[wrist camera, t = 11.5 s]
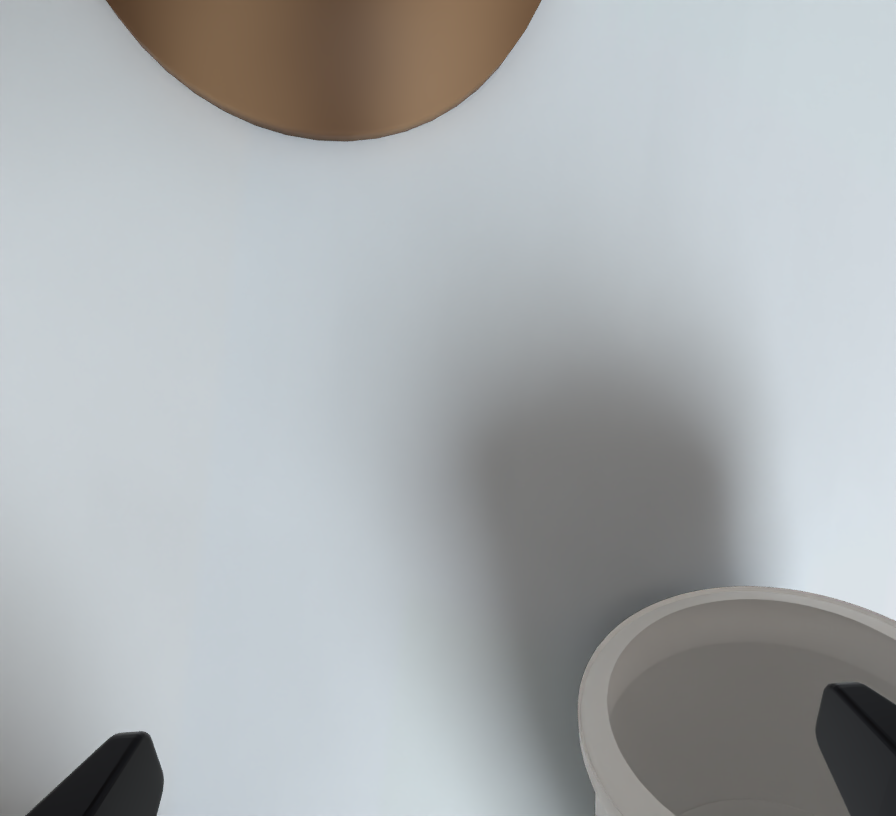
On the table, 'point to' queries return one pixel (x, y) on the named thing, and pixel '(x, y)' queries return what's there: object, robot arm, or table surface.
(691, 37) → the table surface
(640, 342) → the table surface
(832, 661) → the jar
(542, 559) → the table surface
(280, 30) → the walnut coaster
